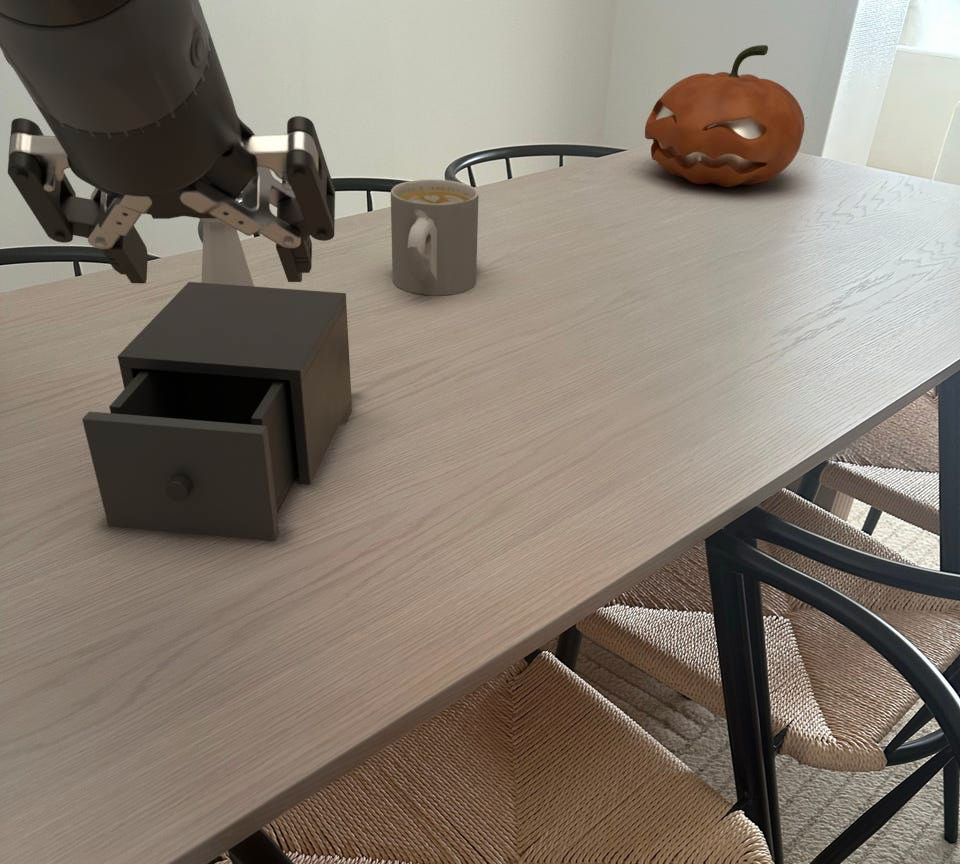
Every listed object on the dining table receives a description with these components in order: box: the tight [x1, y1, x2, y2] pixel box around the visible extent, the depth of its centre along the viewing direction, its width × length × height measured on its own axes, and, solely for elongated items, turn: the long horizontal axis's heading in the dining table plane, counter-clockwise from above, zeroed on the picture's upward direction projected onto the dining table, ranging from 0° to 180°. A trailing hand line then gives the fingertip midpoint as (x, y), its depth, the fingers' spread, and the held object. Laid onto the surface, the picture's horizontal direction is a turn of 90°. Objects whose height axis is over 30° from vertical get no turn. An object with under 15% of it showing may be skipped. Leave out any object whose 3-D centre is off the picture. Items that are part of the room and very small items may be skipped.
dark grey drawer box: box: [117, 281, 353, 486], centre depth 82 cm, size 16×14×11 cm
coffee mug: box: [390, 179, 480, 297], centre depth 113 cm, size 13×10×10 cm
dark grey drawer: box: [81, 369, 298, 542], centre depth 75 cm, size 16×13×9 cm
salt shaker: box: [198, 197, 255, 287], centre depth 102 cm, size 6×6×13 cm
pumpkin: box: [644, 44, 806, 188], centre depth 151 cm, size 25×25×19 cm
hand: (218, 267), depth 54 cm, fingers open, 8 cm apart
